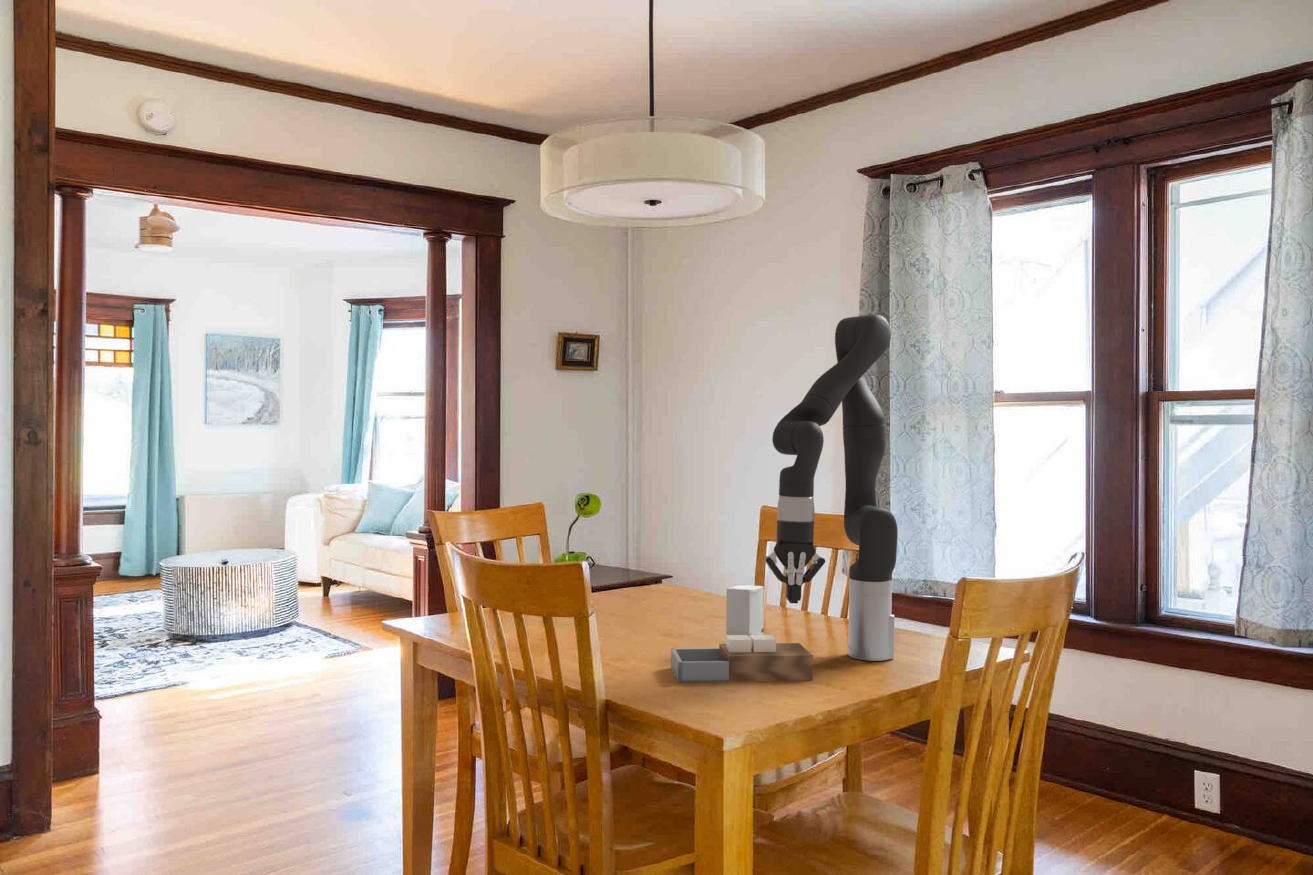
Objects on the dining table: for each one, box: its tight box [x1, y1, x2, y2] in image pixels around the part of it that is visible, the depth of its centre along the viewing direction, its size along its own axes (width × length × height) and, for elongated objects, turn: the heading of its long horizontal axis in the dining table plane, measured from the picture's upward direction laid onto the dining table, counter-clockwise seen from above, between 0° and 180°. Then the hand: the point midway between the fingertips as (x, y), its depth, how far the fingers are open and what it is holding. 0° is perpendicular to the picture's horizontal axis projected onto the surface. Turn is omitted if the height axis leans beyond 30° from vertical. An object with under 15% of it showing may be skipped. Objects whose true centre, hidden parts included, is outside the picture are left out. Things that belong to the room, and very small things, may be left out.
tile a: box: [750, 634, 777, 652], centre depth 194 cm, size 4×4×2 cm
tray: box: [670, 647, 729, 684], centre depth 193 cm, size 10×12×4 cm
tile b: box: [725, 634, 752, 652], centre depth 194 cm, size 4×4×2 cm
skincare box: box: [725, 584, 765, 637], centre depth 213 cm, size 8×6×15 cm
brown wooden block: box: [718, 642, 814, 683], centre depth 195 cm, size 17×11×5 cm, turn 96°
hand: (793, 602), depth 195 cm, fingers closed
